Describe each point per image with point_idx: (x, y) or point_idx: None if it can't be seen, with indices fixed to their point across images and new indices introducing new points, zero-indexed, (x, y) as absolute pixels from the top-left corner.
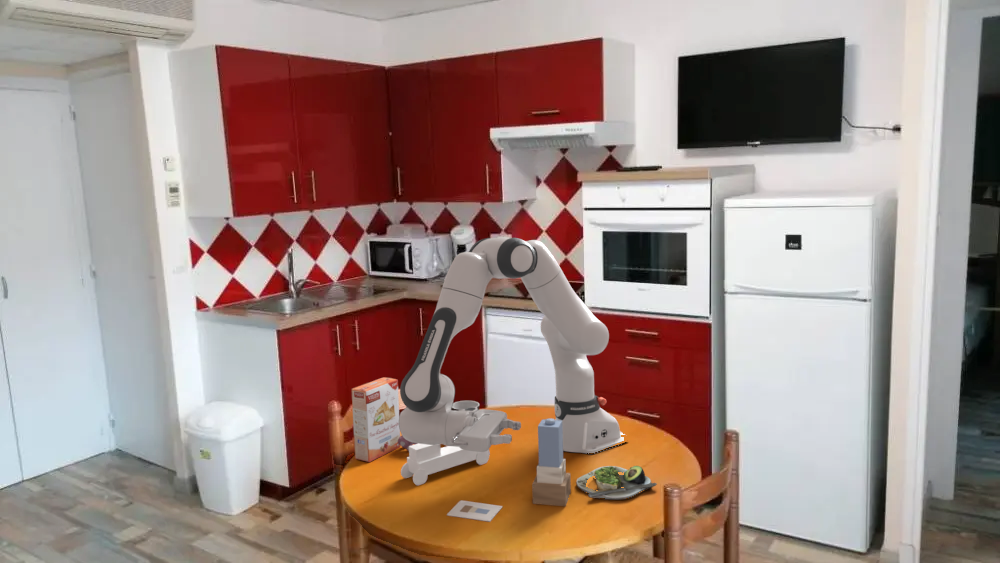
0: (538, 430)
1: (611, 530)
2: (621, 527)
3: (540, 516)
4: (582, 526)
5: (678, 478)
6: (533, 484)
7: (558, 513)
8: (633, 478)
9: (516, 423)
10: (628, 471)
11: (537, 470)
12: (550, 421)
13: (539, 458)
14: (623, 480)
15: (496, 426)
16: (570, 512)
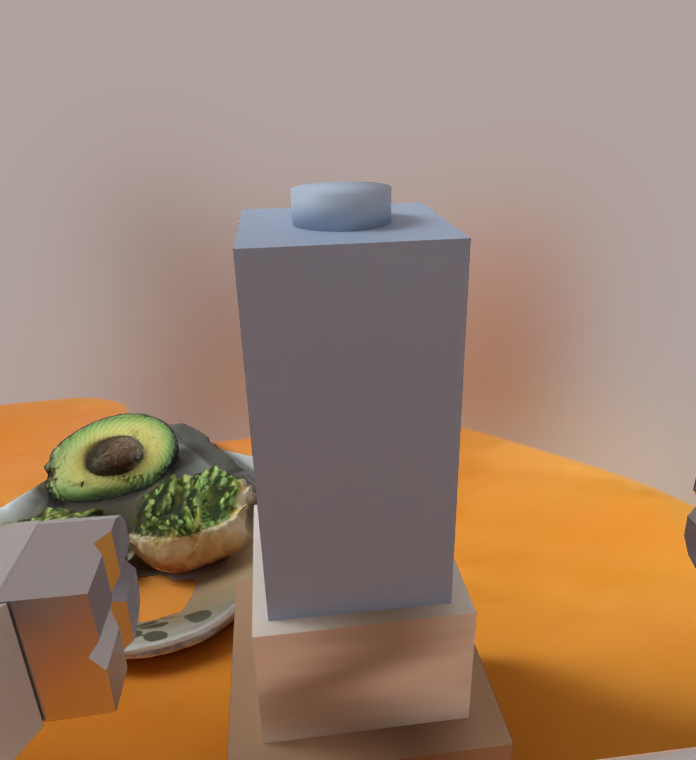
0: (465, 285)
1: (551, 482)
2: (510, 467)
3: (636, 740)
4: (589, 552)
5: (79, 417)
6: (509, 736)
7: (536, 663)
8: (169, 447)
9: (96, 544)
10: (70, 477)
11: (472, 634)
12: (377, 185)
13: (452, 542)
14: (129, 498)
15: (684, 748)
16: (492, 619)
